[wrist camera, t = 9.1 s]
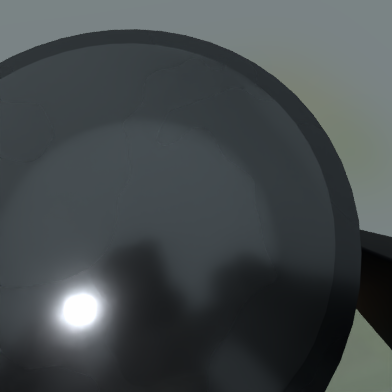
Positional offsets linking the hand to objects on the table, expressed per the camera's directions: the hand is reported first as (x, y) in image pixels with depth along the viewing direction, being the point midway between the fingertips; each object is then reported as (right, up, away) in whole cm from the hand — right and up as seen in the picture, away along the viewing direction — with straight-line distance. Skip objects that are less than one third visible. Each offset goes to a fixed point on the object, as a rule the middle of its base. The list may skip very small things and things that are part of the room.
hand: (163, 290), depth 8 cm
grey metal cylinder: (0, -2, +8) cm, 8 cm away
